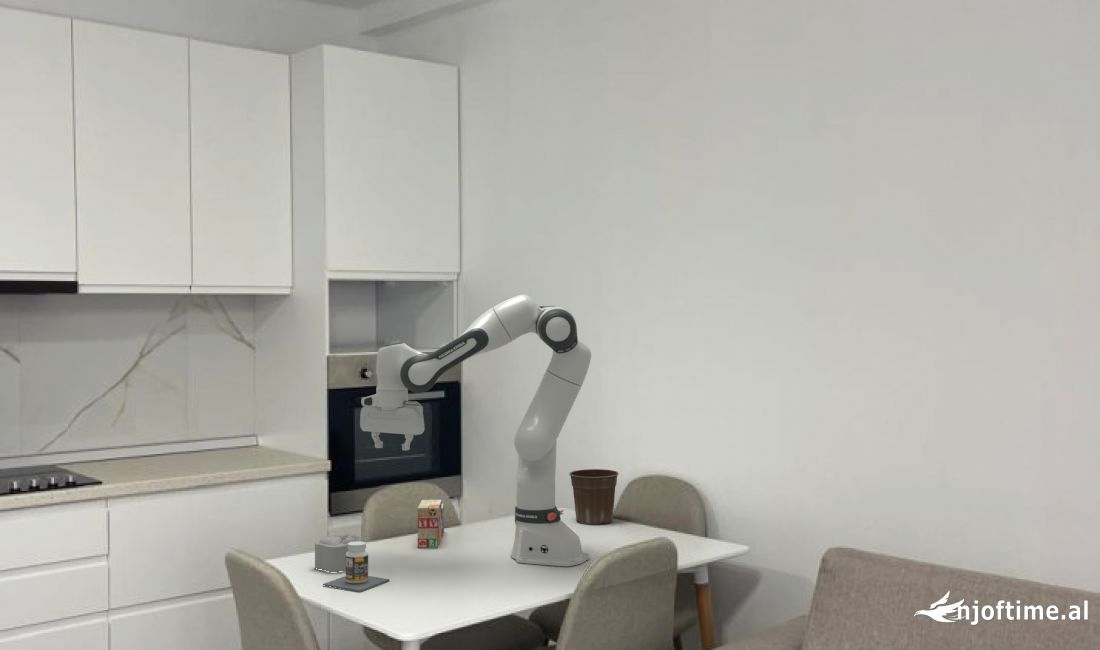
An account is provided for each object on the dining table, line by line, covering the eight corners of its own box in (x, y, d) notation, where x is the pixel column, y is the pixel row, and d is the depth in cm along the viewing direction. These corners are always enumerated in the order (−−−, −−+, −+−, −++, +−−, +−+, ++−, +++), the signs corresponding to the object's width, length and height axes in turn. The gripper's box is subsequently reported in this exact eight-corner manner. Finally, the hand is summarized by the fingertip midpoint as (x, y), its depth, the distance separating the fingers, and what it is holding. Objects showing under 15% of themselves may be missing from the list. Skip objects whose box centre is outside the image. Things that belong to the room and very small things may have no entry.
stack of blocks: (424, 533, 339) (424, 493, 339) (444, 532, 339) (444, 493, 339) (417, 548, 318) (417, 507, 317) (438, 548, 318) (438, 507, 317)
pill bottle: (357, 585, 274) (357, 546, 274) (340, 582, 277) (340, 543, 277) (372, 580, 279) (372, 542, 279) (356, 577, 282) (356, 539, 282)
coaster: (389, 581, 281) (389, 579, 281) (360, 592, 270) (360, 590, 270) (352, 575, 286) (352, 573, 286) (322, 586, 276) (322, 583, 276)
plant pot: (565, 525, 349) (565, 476, 349) (572, 515, 365) (573, 468, 365) (615, 527, 347) (615, 477, 346) (620, 517, 363) (620, 469, 362)
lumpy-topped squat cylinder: (309, 568, 294) (309, 537, 294) (346, 559, 304) (346, 529, 304) (334, 574, 288) (334, 542, 287) (371, 565, 298) (371, 534, 297)
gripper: (429, 400, 301) (429, 450, 302) (370, 397, 311) (370, 445, 312) (415, 402, 296) (415, 453, 296) (356, 399, 306) (356, 447, 306)
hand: (392, 449), depth 304 cm, fingers open, 8 cm apart
